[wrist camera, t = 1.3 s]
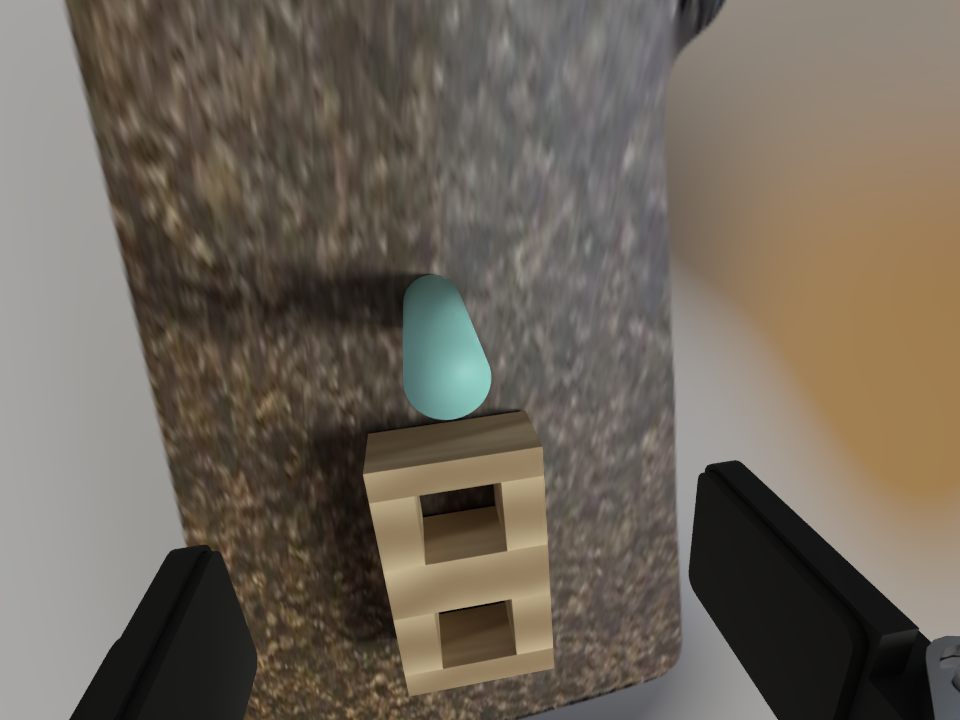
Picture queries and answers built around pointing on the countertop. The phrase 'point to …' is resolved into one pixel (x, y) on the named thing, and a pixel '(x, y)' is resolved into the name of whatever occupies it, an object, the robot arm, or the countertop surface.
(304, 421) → the countertop surface
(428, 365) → the peg
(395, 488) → the hole block
